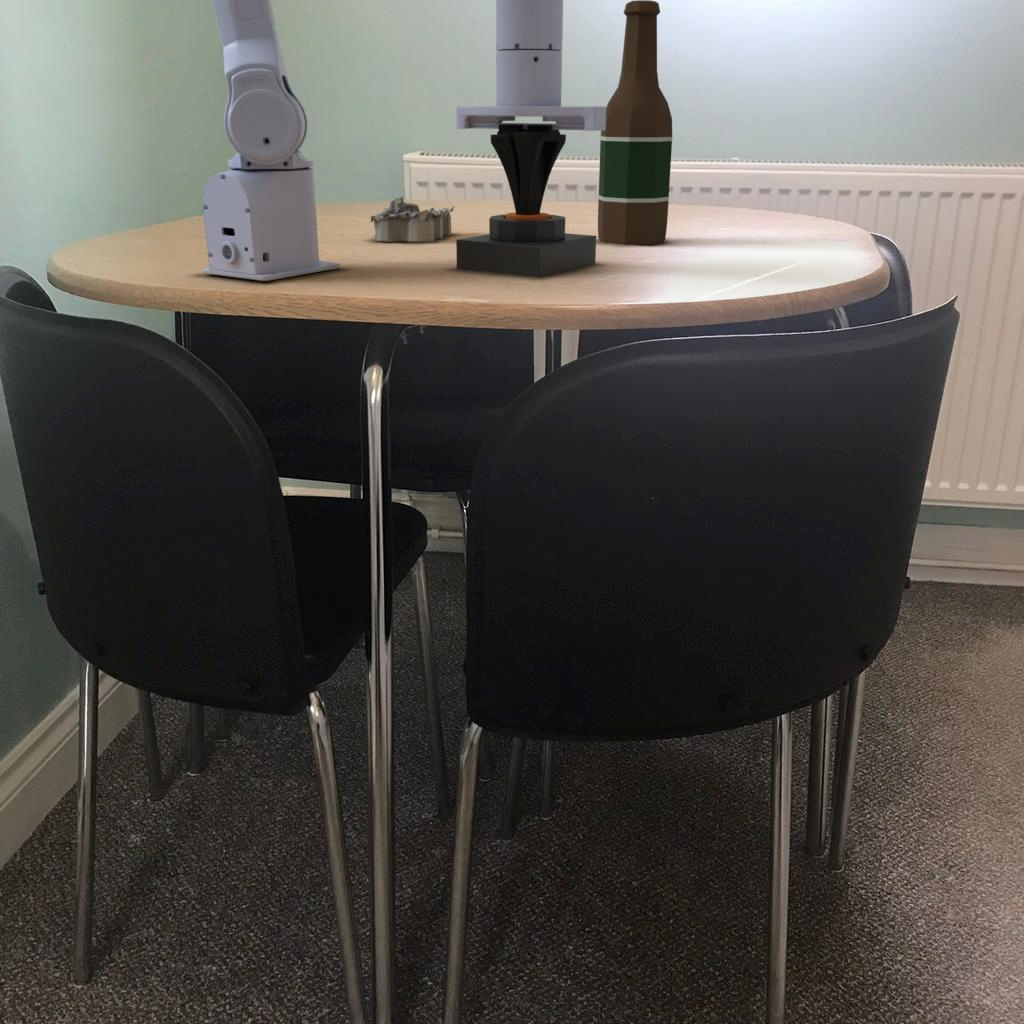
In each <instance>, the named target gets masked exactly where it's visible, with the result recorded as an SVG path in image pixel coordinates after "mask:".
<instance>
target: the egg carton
mask: <svg viewBox="0 0 1024 1024" xmlns="http://www.w3.org/2000/svg"><path fill="white" fill-rule="evenodd" d="M454 209H455V206H452V207H450V208H447V207H442V209H441V208H439V209H437V210H435V208H434V207H431V208H429V209H424V210H421V211H420V208H419V206H418V205H417V204H416V203H412V202H411V203H408V202H404V197H403V196H400V197H399V198H398V197H396V198H395V199H392V200H391V201H390V202H389V207H385V208H383V210H382V212H380V213H376V214H375V215H370V217H369V219H370V223H373V226H374V241H376V242H377V241H378V242H385V243H386V242H387V243H394V242H406V243H407V242H408V243H409V242H410V243H432V242H435V240H437V239H442V238H444V236H451V234H452V216H451V213H452V212H454Z"/></svg>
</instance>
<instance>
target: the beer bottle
mask: <svg viewBox="0 0 1024 1024" xmlns="http://www.w3.org/2000/svg"><path fill="white" fill-rule="evenodd" d="M660 13H661V8H660V4H659V2H657V1H656V0H631V1H629V2H627V3H626V4H625V6H624V10H623V14H624V16H625V29H624V38H623V39H624V40H623V48H622V49H623V50H622V59H621V69H620V70H621V71H620V74H619V75H620V76H619V81H618V85H617V88H616V90H615V91H614V92H613V94H612V96H611V97H610V99H609V100H608V102H607V104H606V106H605V107H606V127H605V130H603V131H600V143H599V171H598V172H599V173H598V198H597V199H598V202H597V206H598V207H597V238H598V240H599V241H600V242H601V243H603V244H609V245H610V244H611V245H622V246H655V245H659V244H660V245H661V244H664V243H665V240H666V238H667V229H668V217H669V201H670V200H669V198H670V185H671V167H672V166H671V165H672V149H673V117H672V113H671V109H670V105H669V102H668V100H667V99H666V97H665V95H664V93H663V92H662V90H661V88H660V83H659V75H658V15H660Z"/></svg>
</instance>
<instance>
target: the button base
mask: <svg viewBox="0 0 1024 1024" xmlns="http://www.w3.org/2000/svg"><path fill="white" fill-rule="evenodd" d="M506 214H507V213H505V214H504V213H503V214H496V215H491V216H490V217H489V221H488V222H489V224H488V226H489V227H488V228H489V230H488V232H489V233H487V234H481V235H476V236H469V237H463V238H457V239H456V241H455V243H456V244H455V246H456V248H455V249H456V251H455V252H456V270H463V271H473V272H480V273H490V274H491V273H493V274H499V275H500V274H501V275H510V276H519V277H530V278H538V279H539V278H544V277H549V276H552V275H556V274H561V273H565V272H570V271H573V270H577V269H581V268H585V267H586V268H587V267H590V266H594V265H596V257H597V256H596V255H597V235H591V234H581V233H580V234H578V233H566V216H563V215H558V214H549V219H545V220H513V219H506Z"/></svg>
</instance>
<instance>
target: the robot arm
mask: <svg viewBox="0 0 1024 1024" xmlns="http://www.w3.org/2000/svg"><path fill="white" fill-rule="evenodd" d="M212 5H213V9H214V14H215V18H216V23H217V27H218V33H219V37H220V41H221V46H222V52H223V53H222V54H223V70H224V78H225V83H226V85H227V86H226V88H227V101H226V105H225V108H224V113H223V128H224V131H225V136H226V138H227V140H228V142H229V143H230V146H231V147H232V148H233V149H234V151H235V152H236V153H235V154H234V156H233V157H232V158H229V159H227V167H229V168H228V169H227V170H226V171H222V172H221V171H220V172H218V173H215V174H213V175H212V176H211V177H210V178H209V179H208V180H207V181H206V184H205V186H204V190H203V194H202V212H203V222H204V230H205V231H204V232H205V241H206V249H207V258H208V259H207V260H208V266H207V267H204V268H203V273H204V274H208V275H216V276H224V277H229V278H230V277H232V278H239V279H246V280H254V281H262V282H268V281H274V280H280V279H285V278H290V277H297V276H302V275H307V274H313V273H319V272H325V271H330V270H336V269H340V268H341V263H340V262H334V261H325V260H320V251H319V237H318V234H319V233H318V222H317V221H318V219H317V207H316V206H317V205H316V204H317V203H316V192H315V176H314V175H315V174H314V168H312V167H313V166H314V162H313V160H310V159H308V158H307V157H305V155H304V154H303V152H302V151H301V150H300V148H301V147H302V146H303V144H304V142H305V140H306V137H307V133H308V127H309V126H308V118H307V113H306V111H305V108H304V106H303V104H302V102H301V101H300V100H299V99H298V97H297V96H296V94H294V92H293V90H292V88H291V85H290V82H289V77H288V72H287V68H286V64H285V61H284V57H283V52H282V50H281V46H280V41H279V36H278V32H277V27H276V21H275V17H274V11H273V7H272V2H271V0H212ZM563 26H564V0H495V27H496V31H495V33H496V34H495V38H496V39H495V40H496V41H495V42H496V43H495V47H496V53H495V54H496V55H495V56H496V57H495V58H496V59H495V61H496V63H495V64H496V65H495V66H496V68H495V70H496V71H495V72H496V73H495V74H496V75H495V79H496V81H495V82H496V85H495V86H496V88H495V90H496V92H495V93H496V98H495V99H496V102H495V103H496V105H492V106H491V105H490V106H489V105H488V106H487V105H485V106H484V105H482V106H481V105H480V106H479V105H478V106H477V105H469V106H468V105H465V106H464V105H463V106H462V105H460V106H459V105H457V106H456V107H455V108H456V109H455V110H456V113H455V115H456V129H458V130H460V129H462V130H469V129H475V130H477V129H480V130H481V129H482V130H483V129H484V130H487V129H488V130H498V131H497V132H496V134H490V144H491V145H492V148H493V149H494V151H495V153H496V155H497V156H498V159H499V160H500V163H501V166H502V167H503V170H504V173H505V176H506V179H507V182H508V185H509V189H510V193H511V197H512V202H513V205H514V212H516V215H535V214H540V213H541V208H542V204H543V200H544V196H545V192H546V188H547V185H548V181H549V178H550V175H551V173H552V170H553V168H554V165H555V163H556V161H557V159H558V157H559V155H560V154H561V152H562V150H563V148H564V146H565V144H566V141H567V135H566V134H565V133H564V134H562V133H561V131H585V132H597V131H600V132H601V131H603V130H605V127H606V107H607V106H562V79H563V78H562V76H563V74H562V73H563V35H564V34H563V33H564V31H563V29H564V27H563ZM516 117H536V118H537V117H539V118H542V122H555V123H535V122H534V123H527V122H515V121H516Z"/></svg>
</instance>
